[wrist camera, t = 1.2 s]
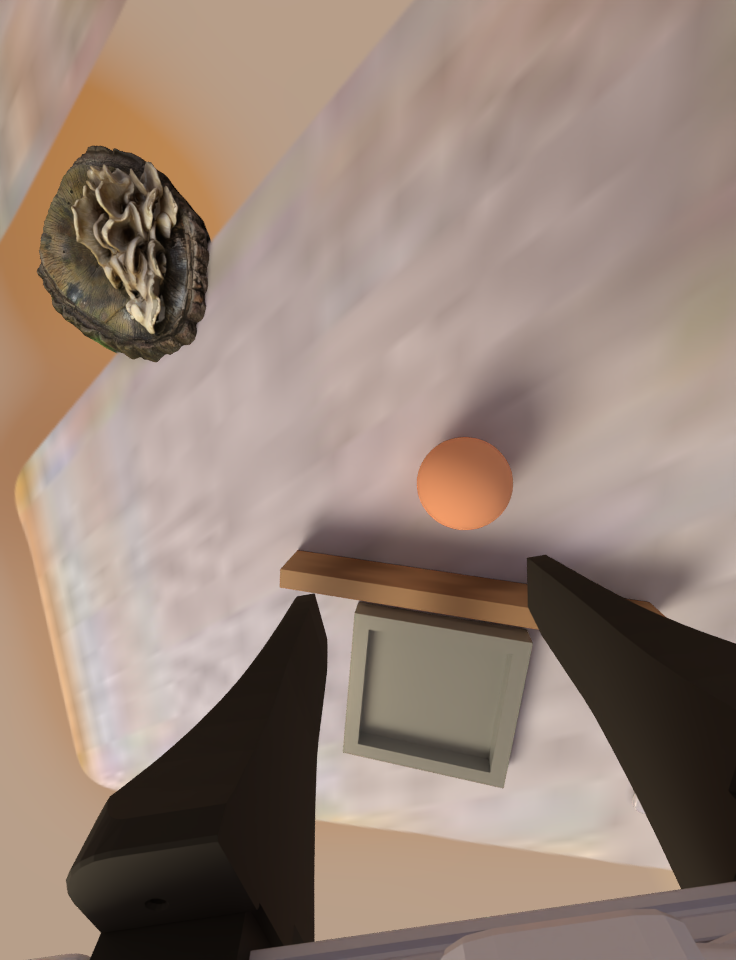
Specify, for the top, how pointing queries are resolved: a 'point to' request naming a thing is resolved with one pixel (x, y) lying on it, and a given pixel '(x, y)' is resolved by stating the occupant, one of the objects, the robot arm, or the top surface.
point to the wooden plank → (413, 588)
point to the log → (125, 255)
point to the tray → (435, 692)
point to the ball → (464, 483)
